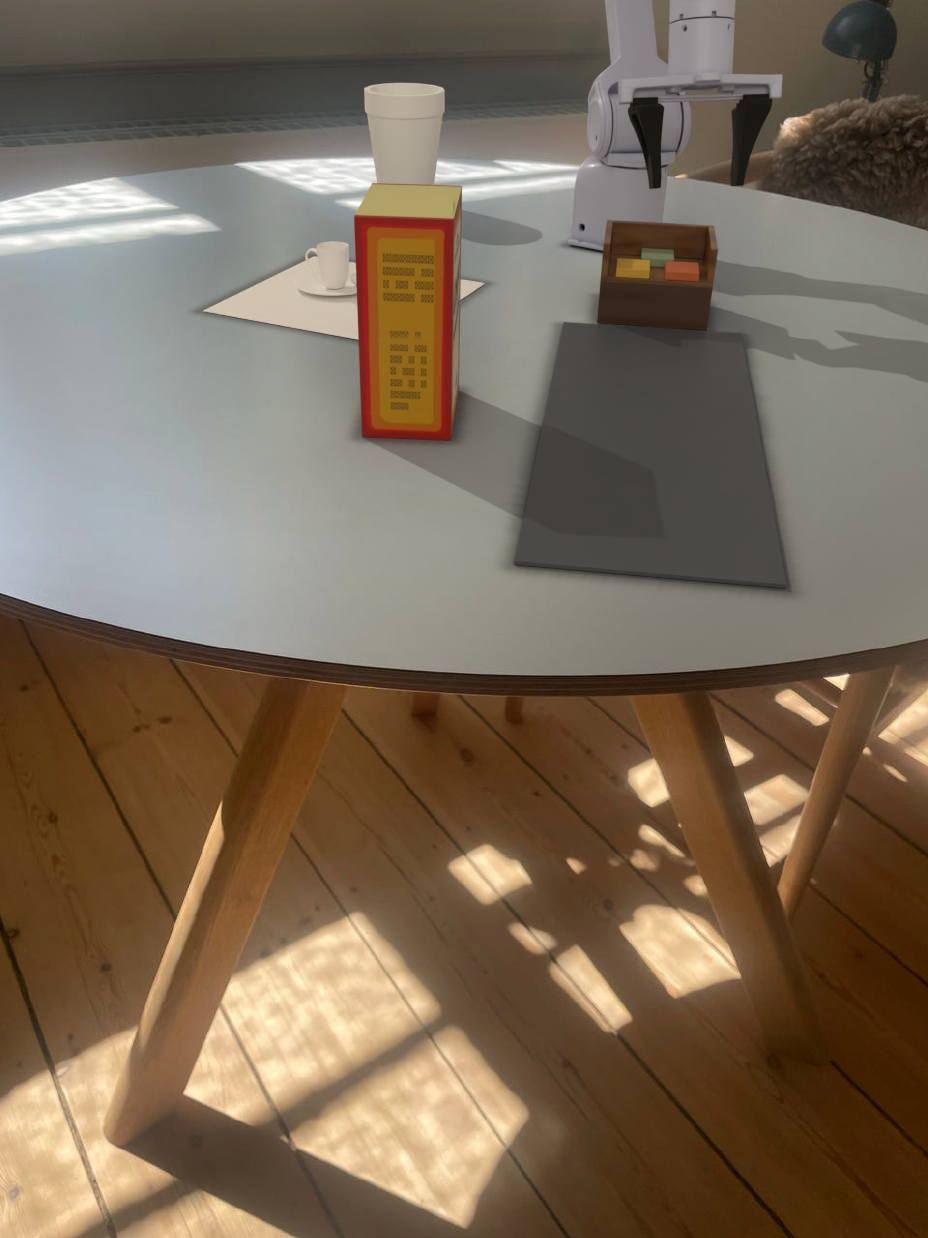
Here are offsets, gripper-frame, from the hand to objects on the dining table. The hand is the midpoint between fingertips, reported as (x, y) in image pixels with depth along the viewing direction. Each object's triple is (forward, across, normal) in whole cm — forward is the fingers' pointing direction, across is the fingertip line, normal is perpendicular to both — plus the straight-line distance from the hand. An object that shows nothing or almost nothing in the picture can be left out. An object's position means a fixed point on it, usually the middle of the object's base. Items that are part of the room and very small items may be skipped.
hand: (696, 187), depth 104 cm
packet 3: (+6, -4, -1) cm, 8 cm away
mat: (+18, -9, -27) cm, 33 cm away
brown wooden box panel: (+11, -4, -2) cm, 12 cm away
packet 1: (+7, -7, -4) cm, 11 cm away
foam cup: (0, -27, +37) cm, 46 cm away
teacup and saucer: (+9, -33, +2) cm, 34 cm away
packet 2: (+8, -2, -5) cm, 9 cm away
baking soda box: (+16, -27, -24) cm, 40 cm away
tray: (+7, -4, -2) cm, 8 cm away
